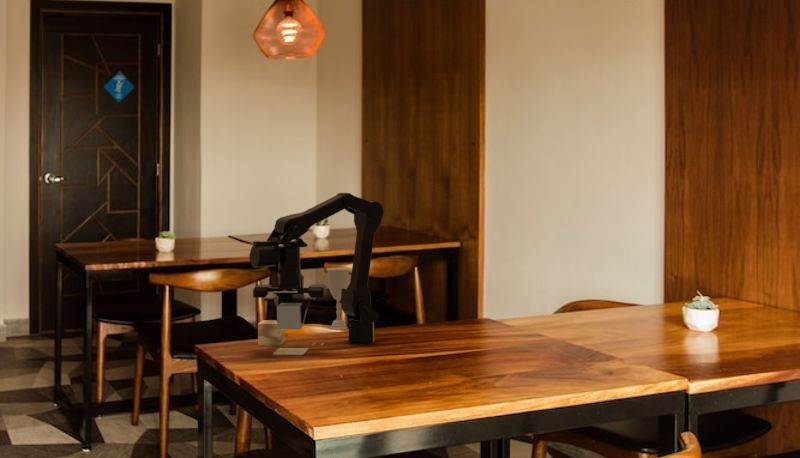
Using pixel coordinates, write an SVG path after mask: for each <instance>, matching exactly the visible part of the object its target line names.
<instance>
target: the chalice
mask: <svg viewBox="0 0 800 458" xmlns="http://www.w3.org/2000/svg"><path fill="white" fill-rule="evenodd" d="M350 270H351V268H349V267H327V268H326V269H325V271H326V272H327V287H328V289H329V291H330V294H331V296H332V297H333V299H334V300H336V305H335V308H336V311H335V313H336V318H335V319H334V320H333V321H332V324H331V326H330V330H346V329H347V330H348V327H347V325H346V323H345V322H346V321H345V320H343V319H342V318H341V314H342V310H341V303H339V302H340V300H341V290H342V288H343V289H347V287H348V286H349V271H350Z"/></svg>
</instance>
